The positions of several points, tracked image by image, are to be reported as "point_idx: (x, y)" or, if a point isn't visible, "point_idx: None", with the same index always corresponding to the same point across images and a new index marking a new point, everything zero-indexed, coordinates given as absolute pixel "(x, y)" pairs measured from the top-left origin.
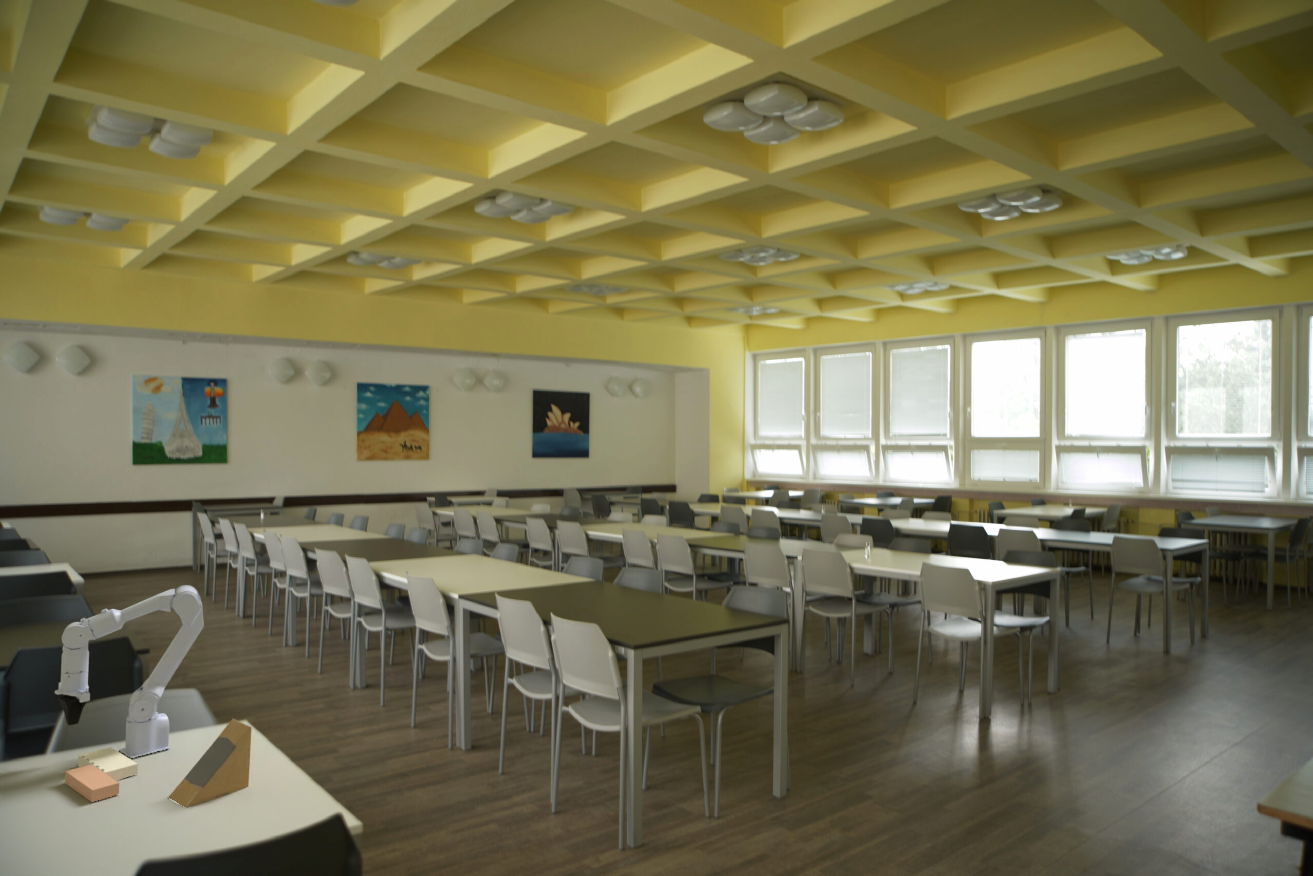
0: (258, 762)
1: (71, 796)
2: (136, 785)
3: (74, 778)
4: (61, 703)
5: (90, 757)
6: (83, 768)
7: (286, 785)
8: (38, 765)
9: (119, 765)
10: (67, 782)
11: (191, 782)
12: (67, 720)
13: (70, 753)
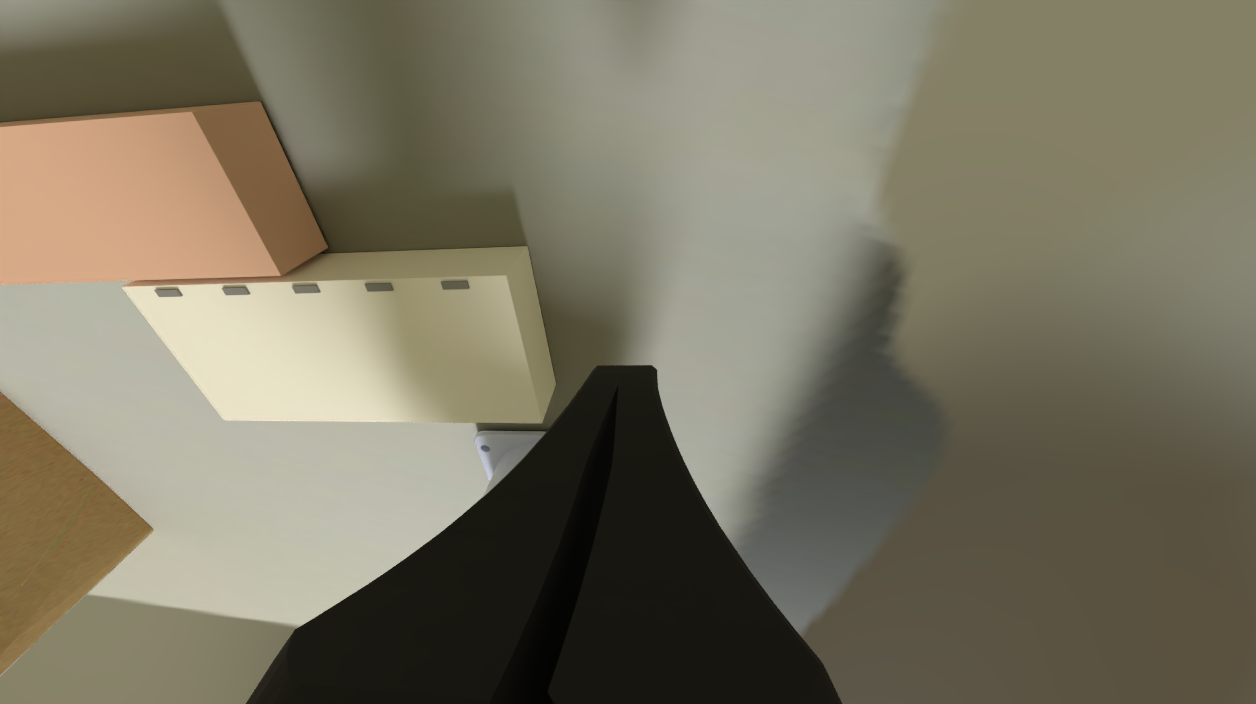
0: (268, 597)
1: (21, 67)
2: (141, 345)
3: (44, 123)
4: (696, 586)
5: (420, 310)
6: (214, 220)
7: None
8: (720, 54)
9: (224, 366)
10: (208, 106)
11: None
12: (596, 392)
13: (785, 281)
